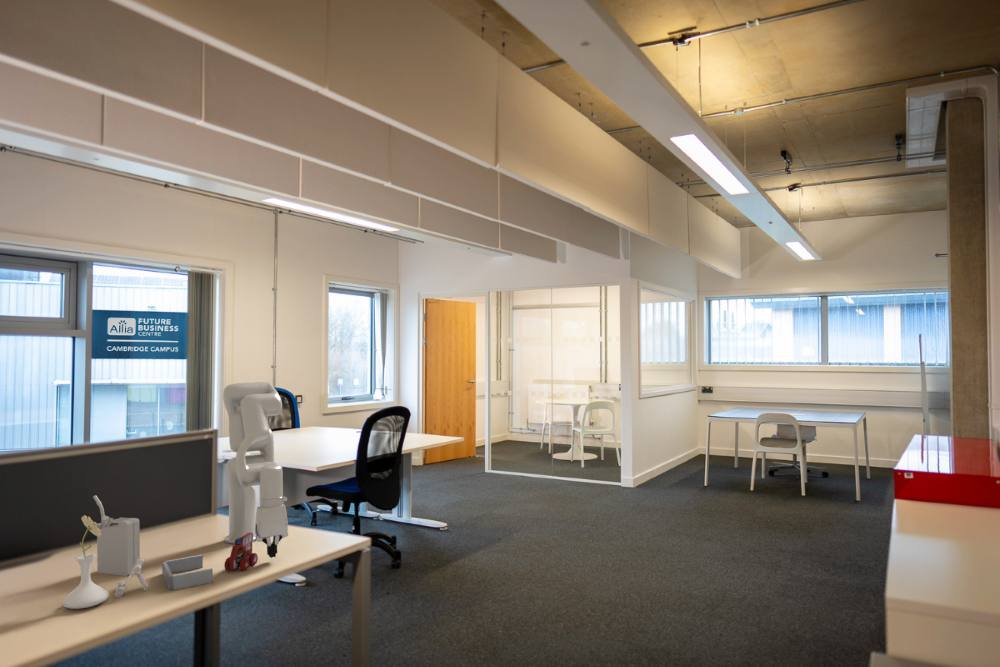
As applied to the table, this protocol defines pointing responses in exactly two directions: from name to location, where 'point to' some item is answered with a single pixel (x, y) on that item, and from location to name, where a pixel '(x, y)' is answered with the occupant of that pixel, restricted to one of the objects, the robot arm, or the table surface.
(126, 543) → the fuel canister
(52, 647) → the table surface
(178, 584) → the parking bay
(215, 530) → the table surface
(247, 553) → the toy fire truck
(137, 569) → the portable electronic device stand
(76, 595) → the flower in vase
